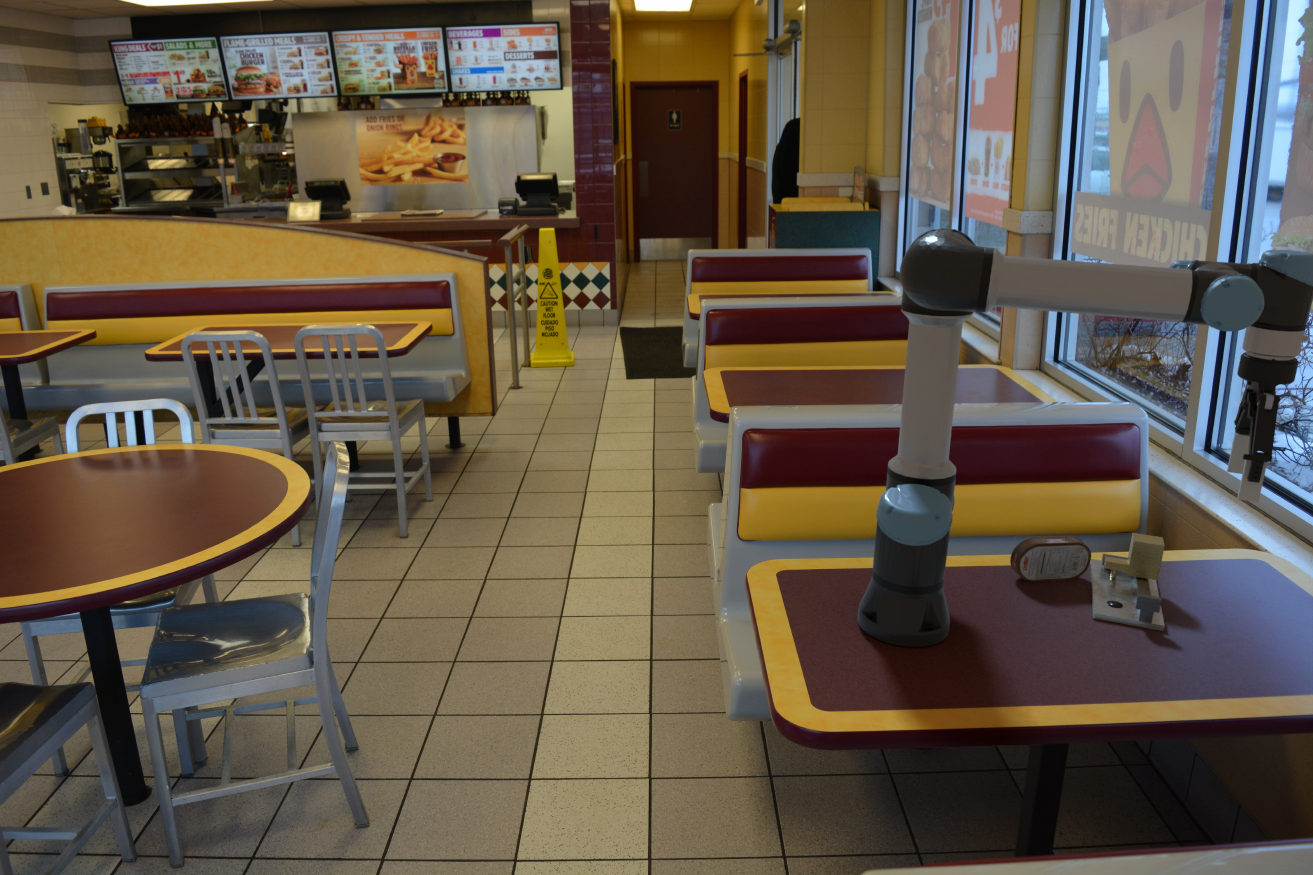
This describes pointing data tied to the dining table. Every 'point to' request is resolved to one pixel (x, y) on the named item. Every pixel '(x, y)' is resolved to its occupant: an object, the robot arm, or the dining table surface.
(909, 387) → the robot arm
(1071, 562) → the tin
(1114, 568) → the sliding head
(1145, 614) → the grey slide rail base
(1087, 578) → the dining table surface
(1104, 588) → the bolt plate
